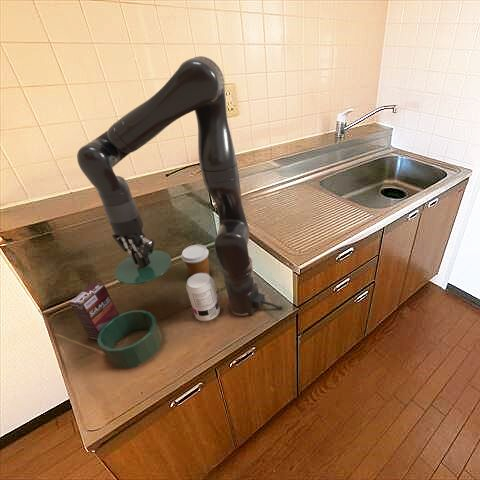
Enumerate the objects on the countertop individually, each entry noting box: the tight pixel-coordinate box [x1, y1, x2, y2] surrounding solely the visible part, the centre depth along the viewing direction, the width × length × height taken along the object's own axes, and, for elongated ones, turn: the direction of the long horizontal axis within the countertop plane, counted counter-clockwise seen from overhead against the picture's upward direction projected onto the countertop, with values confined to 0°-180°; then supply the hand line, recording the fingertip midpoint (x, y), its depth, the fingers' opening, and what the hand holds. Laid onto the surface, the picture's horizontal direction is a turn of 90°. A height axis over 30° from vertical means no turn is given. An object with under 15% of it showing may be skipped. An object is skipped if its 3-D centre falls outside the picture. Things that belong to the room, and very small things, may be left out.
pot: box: [97, 309, 163, 370], centre depth 94 cm, size 15×15×8 cm
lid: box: [114, 250, 172, 285], centre depth 95 cm, size 16×16×6 cm
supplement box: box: [69, 282, 120, 340], centre depth 97 cm, size 9×5×16 cm, turn 168°
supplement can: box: [185, 273, 221, 322], centre depth 103 cm, size 8×8×15 cm
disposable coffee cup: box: [181, 244, 210, 277], centre depth 119 cm, size 10×10×12 cm
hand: (142, 263), depth 96 cm, fingers closed on lid, 2 cm apart
